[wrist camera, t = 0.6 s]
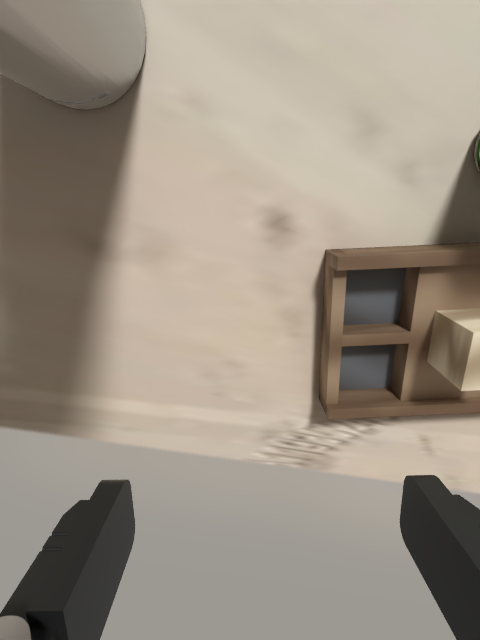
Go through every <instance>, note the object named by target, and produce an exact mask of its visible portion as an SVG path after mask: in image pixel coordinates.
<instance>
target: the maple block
mask: <svg viewBox="0 0 480 640" xmlns="http://www.w3.org/2000/svg"><path fill="white" fill-rule="evenodd" d="M427 362H428V363H429V364H430V365H432V366H433V367H434V368H435V369H436V370H437V371H438V372H440V373H441V374H442V375H443V376H444V377H445V378H447V379H448V380H449V381H450V382H451V383H452V384H453V385H455V386H456V387H457V388H458V389H459V390H460V391H473V390H480V309H460V310H439V311H436V312H435V317H434V323H433V329H432V335H431V341H430V347H429V352H428V358H427Z"/></svg>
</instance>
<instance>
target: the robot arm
mask: <svg viewBox="0 0 480 640" xmlns="http://www.w3.org/2000/svg"><path fill="white" fill-rule="evenodd" d="M145 46H146V27H145V19H144V12H143V9H142V6H141V2H140V0H0V74H2V75H4V76H6V77H8V78H9V79H11V80H13V81H15V82H17V83H19V84H21V85H23V86H25V87H27V88H29V89H31V90H33V91H35V92H37V93H39V94H40V95H41V96H43V97H45V98H47V99H49V100H52V101H54V102H56V103H58V104H61V105H64V106H67V107H70V108H74V109H85V110H90V109H96V108H102V107H104V106H106V105H109V104H111V103H113V102H115V101H116V100H117V99H119V98H120V97H121V96H122V95H124V94H125V93H126V92H127V91H128V89H129V88H130V87H131V85H132V84H133V83H134V81H135V79H136V77H137V75H138V73H139V71H140V69H141V66H142V62H143V58H144V54H145ZM400 528H401V533H402V537H403V540H404V542H405V545H406V547H407V548H408V550H409V552H410V554H411V556H412V558H413V560H414V561H415V563H416V565H417V567H418V569H419V570H420V573H421V574H422V576H423V578H424V580H425V582H426V584H427V586H428V587H429V589H430V591H431V593H432V595H433V597H434V599H435V600H436V602H437V604H438V606H439V608H440V610H441V612H442V613H443V615H444V617H445V619H446V621H447V623H448V624H449V626H450V628H451V630H452V632H453V634H454V636H455V637H456V639H457V640H480V510H479V509H478V508H477V507H475V506H474V505H472V504H471V503H470V502H468V501H467V500H465V499H464V498H463V497H461V496H460V495H452V494H451V493H450V491H449V490H448V489H447V488H446V487H445V485H444V484H443V483H442V482H441V481H440V479H439V478H438V477H436V476H434V475H415V476H406V477H405V480H404V486H403V496H402V504H401V514H400ZM134 534H135V519H134V510H133V501H132V493H131V485H130V481H129V480H102V481H101V482H100V483H99V484H98V486H97V488H96V489H95V491H94V493H93V495H92V496H91V498H90V500H80V501H79V502H78V503H76V504H75V505H74V506H73V507H72V508H71V509H70V510H68V511H67V512H66V513H65V514H64V515H63V516H62V518H61V519H60V521H59V523H58V524H57V526H56V527H55V529H54V530H53V532H52V536H50V537H49V538H48V540H47V541H46V543H45V545H44V546H43V549H42V551H41V552H39V554H38V555H37V557H36V559H35V560H34V562H33V563H32V565H31V566H30V568H29V570H28V571H27V573H26V574H25V576H24V578H23V579H22V580H21V582H20V584H19V585H18V587H17V588H16V590H15V592H14V593H13V595H12V596H11V598H10V599H9V601H8V602H7V604H6V606H5V607H4V609H3V610H2V612H1V613H0V640H100V637H101V635H102V632H103V629H104V626H105V623H106V620H107V617H108V615H109V612H110V609H111V606H112V603H113V600H114V598H115V594H116V592H117V589H118V586H119V583H120V580H121V578H122V575H123V571H124V569H125V566H126V563H127V560H128V557H129V555H130V552H131V549H132V545H133V540H134Z"/></svg>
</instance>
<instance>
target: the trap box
mask: <svg viewBox="0 0 480 640" xmlns="http://www.w3.org/2000/svg"><path fill="white" fill-rule="evenodd" d="M460 309H480V243H461V244H440V245H418V246H396V247H374V248H353V249H331V250H326V258H325V280H324V301H323V322H322V344H321V365H320V386H319V399H320V401H321V404H322V406H323V409H324V411H325V413H326V416H327V418H328V420H329V419H350V418H371V417H392V416H413V415H433V414H454V413H475V412H480V390H473V391H460V390H459V389H458V388H457V387H456V386H455V385H453V384H452V383H451V382H450V381H449V380H448V379H447V378H445V377H444V376H443V375H442V374H441V373H440V372H438V371H437V370H436V369H435V368H434V367H433V366H432V365H430V364H429V363H428V362H427V358H428V352H429V347H430V341H431V335H432V329H433V323H434V317H435V312H436V311H439V310H460Z"/></svg>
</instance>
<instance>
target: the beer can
mask: <svg viewBox="0 0 480 640" xmlns="http://www.w3.org/2000/svg"><path fill="white" fill-rule="evenodd" d="M474 160H475V165H476V167H477V168H478V170H479V172H480V133H479V135H478V138H477V140H476V143H475V148H474Z"/></svg>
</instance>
